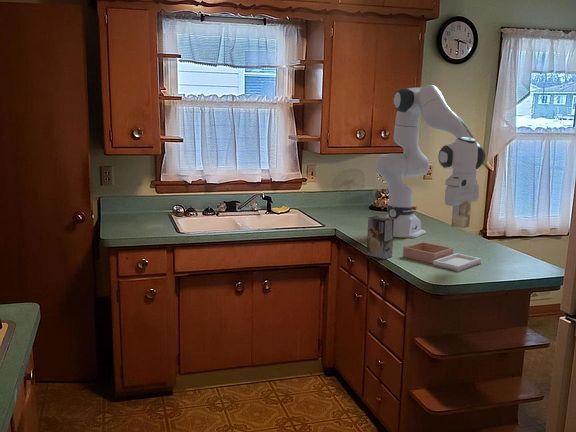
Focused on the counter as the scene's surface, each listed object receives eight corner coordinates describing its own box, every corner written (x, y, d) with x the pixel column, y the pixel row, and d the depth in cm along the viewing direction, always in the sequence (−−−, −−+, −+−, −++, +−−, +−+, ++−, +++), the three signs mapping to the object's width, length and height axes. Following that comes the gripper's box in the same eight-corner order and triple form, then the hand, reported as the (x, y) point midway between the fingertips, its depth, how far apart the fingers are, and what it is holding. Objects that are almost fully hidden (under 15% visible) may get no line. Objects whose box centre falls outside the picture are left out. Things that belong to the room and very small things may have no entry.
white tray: (456, 257, 246) (456, 253, 246) (480, 263, 238) (481, 258, 238) (432, 265, 234) (433, 260, 233) (458, 271, 226) (458, 266, 226)
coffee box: (392, 256, 246) (395, 218, 243) (383, 259, 241) (385, 220, 238) (375, 252, 252) (376, 215, 249) (365, 254, 248) (367, 217, 245)
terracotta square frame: (422, 250, 256) (422, 241, 256) (452, 257, 246) (453, 248, 246) (403, 256, 246) (403, 247, 246) (433, 263, 236) (434, 253, 235)
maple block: (457, 224, 236) (459, 199, 235) (469, 226, 233) (471, 201, 231) (451, 226, 233) (453, 201, 231) (462, 228, 230) (464, 202, 228)
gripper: (469, 176, 239) (466, 210, 242) (442, 180, 225) (440, 216, 227) (484, 178, 235) (481, 212, 237) (458, 182, 220) (455, 219, 223)
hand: (461, 214), depth 232 cm, fingers closed on maple block, 5 cm apart
